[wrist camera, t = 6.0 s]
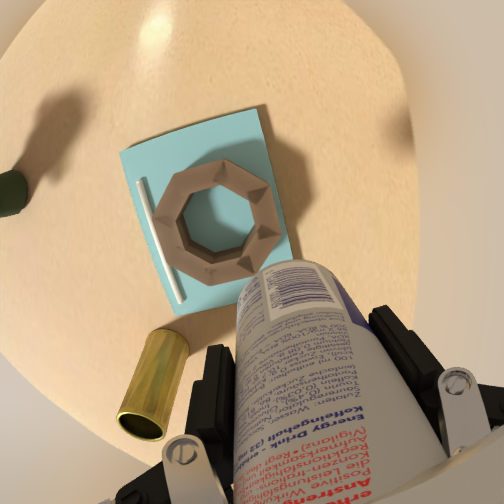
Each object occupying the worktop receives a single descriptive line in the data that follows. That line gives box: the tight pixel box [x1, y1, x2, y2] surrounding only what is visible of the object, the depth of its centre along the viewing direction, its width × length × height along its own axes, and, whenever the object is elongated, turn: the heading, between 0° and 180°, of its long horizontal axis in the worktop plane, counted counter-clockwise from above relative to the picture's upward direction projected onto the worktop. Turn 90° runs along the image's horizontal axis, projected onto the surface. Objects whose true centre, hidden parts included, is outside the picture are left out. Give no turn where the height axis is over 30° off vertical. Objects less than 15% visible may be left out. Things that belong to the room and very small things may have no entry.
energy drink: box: [233, 259, 448, 504], centre depth 8 cm, size 5×5×12 cm
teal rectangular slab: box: [119, 109, 293, 316], centre depth 30 cm, size 20×15×2 cm
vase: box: [116, 329, 189, 442], centre depth 29 cm, size 6×6×14 cm
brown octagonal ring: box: [152, 159, 282, 286], centre depth 28 cm, size 11×11×4 cm
